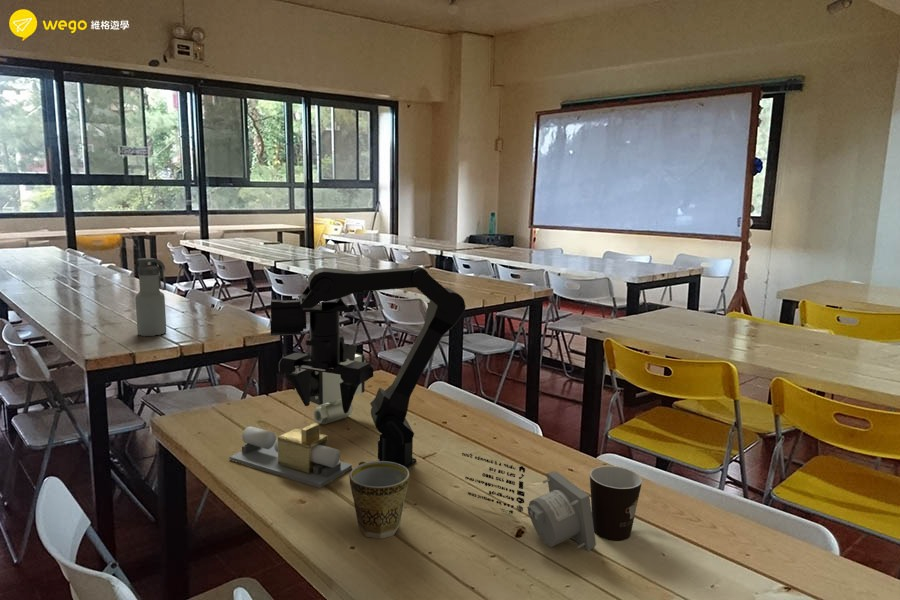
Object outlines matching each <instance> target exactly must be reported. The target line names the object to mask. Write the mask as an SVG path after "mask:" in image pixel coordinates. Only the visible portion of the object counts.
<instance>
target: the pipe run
mask: <svg viewBox="0 0 900 600" xmlns="http://www.w3.org/2000/svg"><path fill="white" fill-rule="evenodd" d="M281 435H282V434H279V436H281ZM241 436H242V437H241V439H242V442H243V443H244V445H241V451H239V452H236V453H234V454H232V455H230V456H229V457H228V458H229V460H230V459H231V460H234V461H237V462H239V463H238V464H240V463H243V464H245V465H244V466H247V465H248V467H250V466H251V467H250V468H254V469H256V468H257V469H256V470H261V471H263V472H266V473H269V474H273V475H276V476H279V475H280V477H282V476H283V477H284V478H286V477H287V478H286V479H290V480H293V481H296V482H300V483H302V484H306V485H309V486H312V487H316V488H319V489H322V488H323V487H324V486H327V485H328V484H329V483H331V482H332V481H334V480H336V479H337V478H339V477H340V476H342V475H344V474H345V473H347V472H350V470H352V469H353V465H352V464H350V463H348V462H347V463H346V462H343V461H340V459H341V453H340V450H339V449H337V448H333V447H330V446H328V447H326V446H322V445H319V444H317V445H315V446H313V447H311V462H314V463H317V465H316V466H314V467H313V471H312V472H310V473H307V472H304V471H300V470H297V469H294V468H290V467H287V466H283V465H280V464H278V437H277V436H276V434H275V432H273V431H270V430H265V429H262V428H258V427H255V426H251V425H250V426H247V427H246V428H245V429H244V430H243V432H242V435H241ZM234 461H233V462H234ZM237 462H236V463H237ZM243 464H242V465H243Z"/></svg>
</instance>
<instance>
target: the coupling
mask: <svg viewBox="0 0 900 600" xmlns="http://www.w3.org/2000/svg"><path fill="white" fill-rule="evenodd" d="M280 435H281V436H280ZM280 435H279V436H277V438H278V464H280V465H283V466H287V467H290V468H294V469H297V470H300V471H304V472H307V473H310V472H312V471H313V467H314V466H316V465H317V463H314V462H311V447H313V446H315V445H317V444H319V445H322V446H326V447H329V446H328V445H329V443H328V441H329V438H328V435H327V434H323V433H320V424H319V423H317V422H313V423H311V424H309V425H306V426H305V427H303V428H300V427H296V428H294V429H292V430H289V431H287V432H285V433H283V434H280Z"/></svg>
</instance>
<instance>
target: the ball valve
mask: <svg viewBox="0 0 900 600" xmlns="http://www.w3.org/2000/svg"><path fill="white" fill-rule="evenodd" d="M354 361H358V362H365V363H369V362H368V360H367V359H366V358H365V354H362V353H359V352H356V354H355V359H354ZM354 361H351V360H349V359H347V361H346V362H341V363H340V365H348V364H350V363H352V362H354ZM332 369H333V368H332ZM367 381H368V380H366V381H365V382H363V383H361V384H360V385H359V386H358V388H357V390H356V392H355V394H354V396H355V395H361V394H363V393H365V391H366V390H365V388H366V382H367ZM342 382H344V381H343V380H342V379H341V375H340V374H333V373H327V372H320V371H313V370H312V373H311V376H310V403H313V404H315V405H316V406H315V407H316V408H315V409H314V411H313V419H314V420H315V423H317V424H319V425H320V424H321V425H322V424H323V425H327V424H329V423H333V422H337V421H339V420H344V419H346V418H348V417H349V416H351V415H352V414H353V411H354V408H353V402H352V403H351V406H350V409H349V411H348V412H347V413H344V411H343V407H342V399H341V390H340V383H342Z"/></svg>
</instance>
